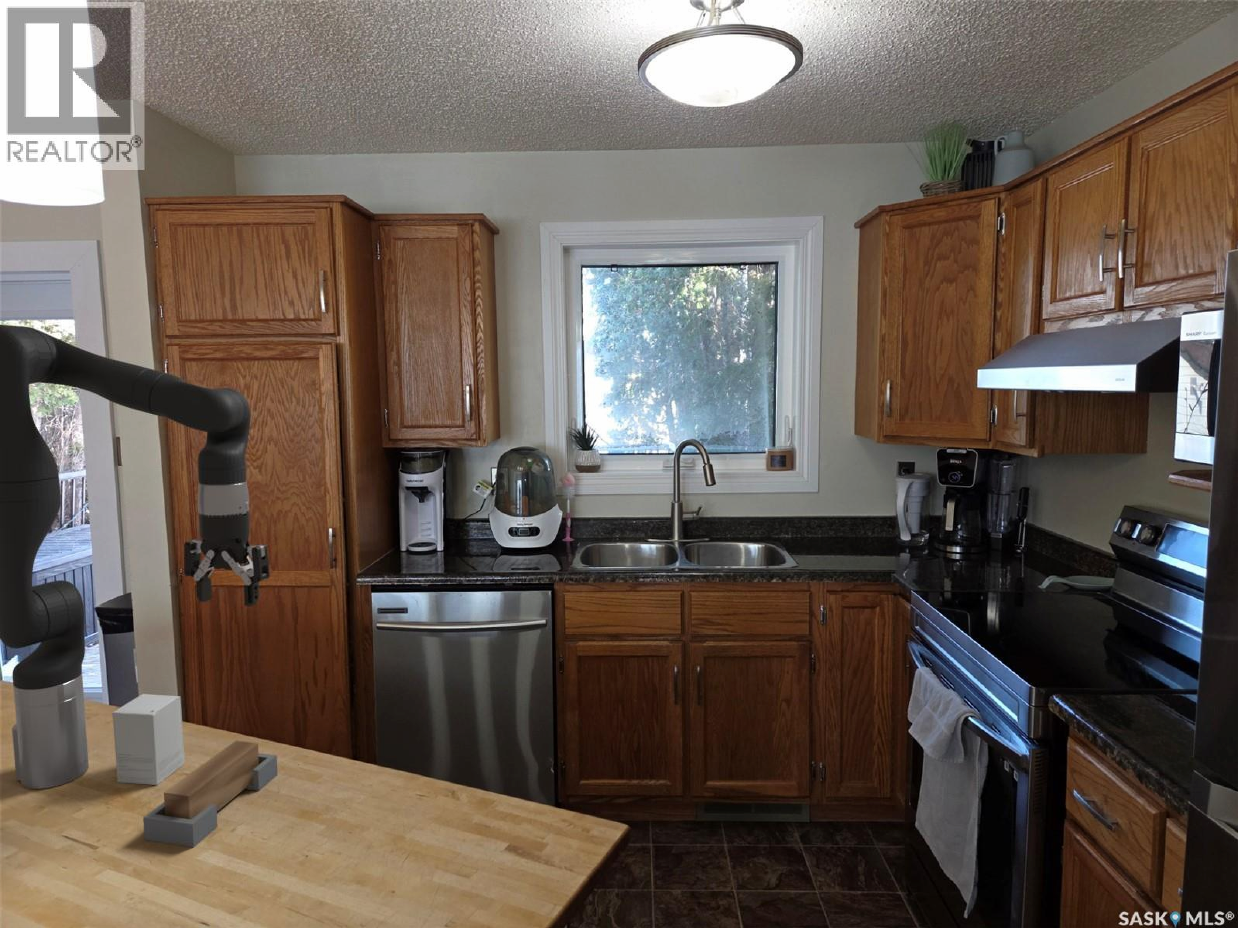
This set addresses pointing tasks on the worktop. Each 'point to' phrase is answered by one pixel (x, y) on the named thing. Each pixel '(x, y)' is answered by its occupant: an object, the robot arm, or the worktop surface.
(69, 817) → the worktop surface
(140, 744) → the supplement box
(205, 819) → the endcap
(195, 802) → the brown wooden bar
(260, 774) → the endcap
